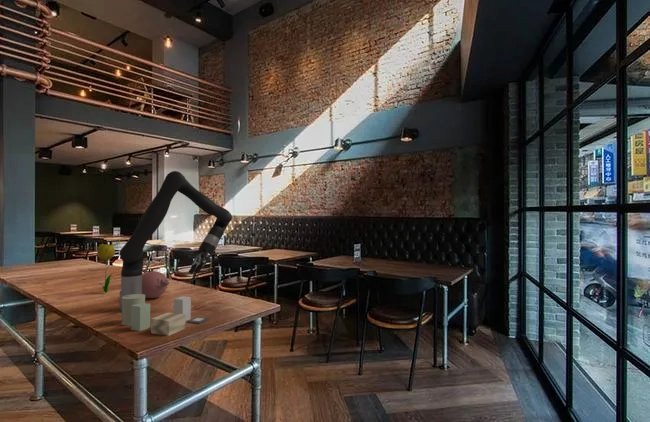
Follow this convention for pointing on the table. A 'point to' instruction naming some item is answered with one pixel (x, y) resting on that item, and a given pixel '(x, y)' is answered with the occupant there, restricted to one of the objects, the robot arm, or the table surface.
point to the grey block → (183, 306)
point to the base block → (168, 324)
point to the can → (126, 306)
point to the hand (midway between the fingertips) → (193, 272)
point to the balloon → (153, 284)
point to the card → (198, 320)
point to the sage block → (140, 316)
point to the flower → (106, 254)
